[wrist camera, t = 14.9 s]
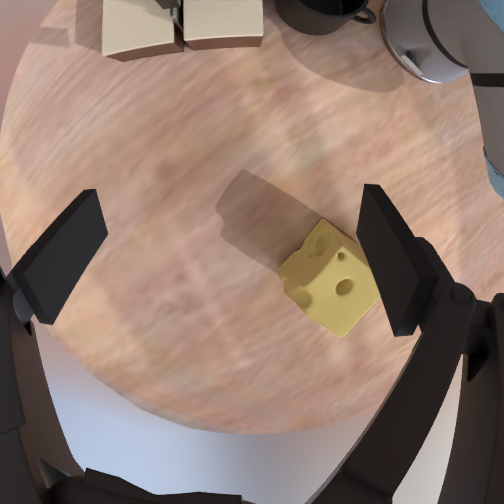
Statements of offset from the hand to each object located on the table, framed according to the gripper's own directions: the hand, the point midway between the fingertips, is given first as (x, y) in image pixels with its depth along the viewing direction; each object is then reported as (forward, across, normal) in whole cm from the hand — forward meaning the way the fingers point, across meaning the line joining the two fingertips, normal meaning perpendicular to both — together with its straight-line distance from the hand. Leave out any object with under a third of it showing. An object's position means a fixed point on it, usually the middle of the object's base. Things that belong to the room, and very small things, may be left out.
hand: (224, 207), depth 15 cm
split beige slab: (+30, -8, +15) cm, 34 cm away
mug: (+31, +9, +14) cm, 35 cm away
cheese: (+24, +11, -22) cm, 34 cm away
